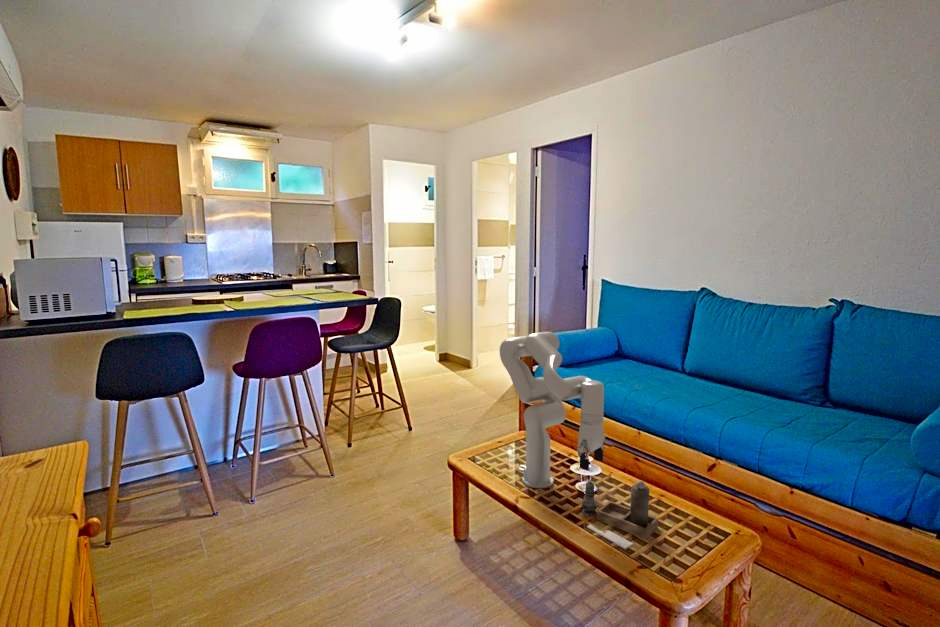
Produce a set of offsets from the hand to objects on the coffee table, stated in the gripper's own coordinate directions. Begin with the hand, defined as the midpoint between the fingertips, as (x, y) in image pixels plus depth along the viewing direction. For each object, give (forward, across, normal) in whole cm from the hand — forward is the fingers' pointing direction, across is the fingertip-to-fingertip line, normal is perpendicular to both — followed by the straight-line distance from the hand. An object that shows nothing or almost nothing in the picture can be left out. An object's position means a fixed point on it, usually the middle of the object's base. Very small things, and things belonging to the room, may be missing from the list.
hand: (591, 464), depth 170 cm
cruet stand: (+18, -2, +12) cm, 22 cm away
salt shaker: (+18, 0, -1) cm, 18 cm away
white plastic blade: (+18, +8, +11) cm, 23 cm away
